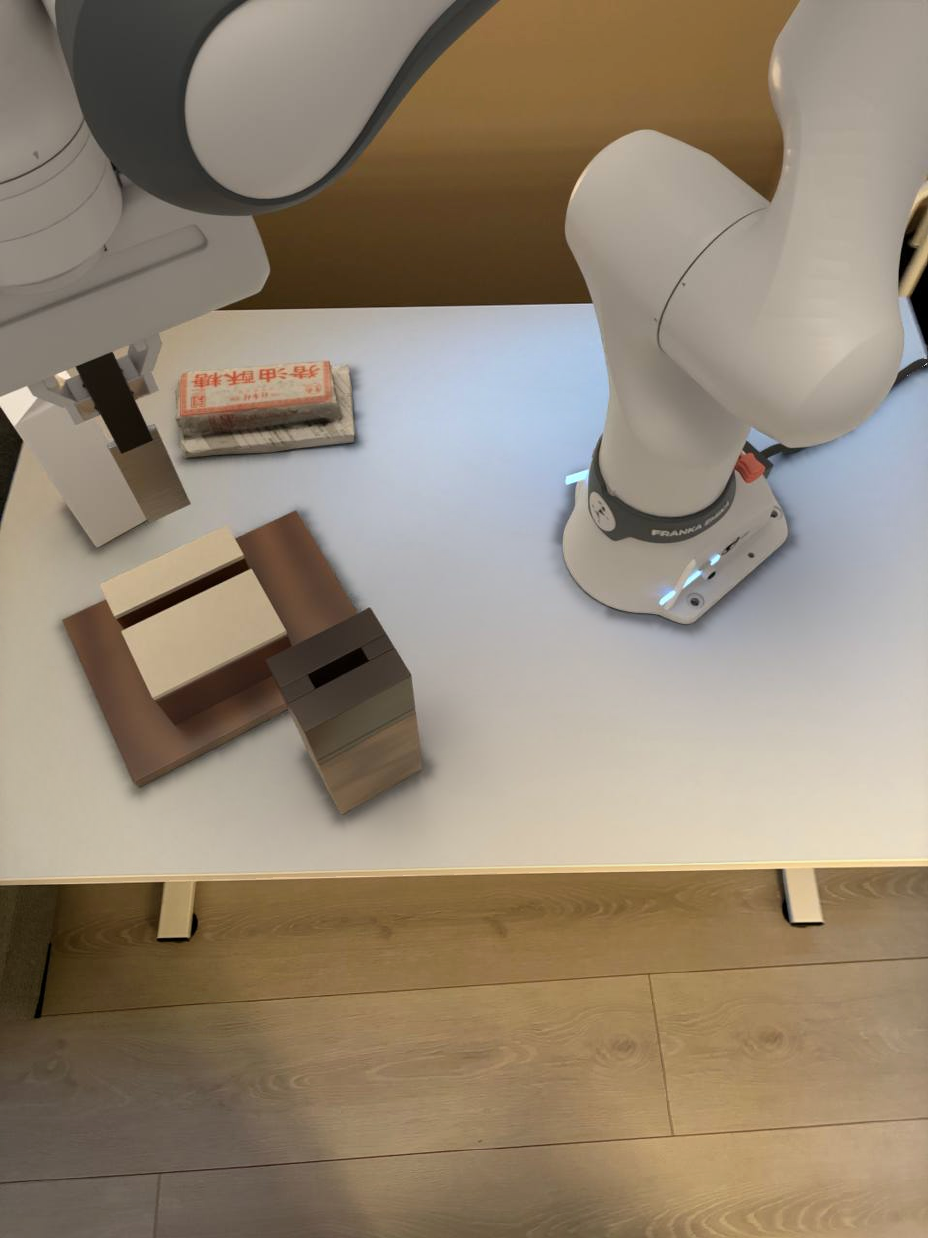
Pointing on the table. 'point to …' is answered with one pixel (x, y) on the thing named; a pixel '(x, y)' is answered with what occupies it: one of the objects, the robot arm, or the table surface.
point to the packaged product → (264, 408)
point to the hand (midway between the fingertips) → (113, 400)
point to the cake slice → (174, 577)
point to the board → (159, 746)
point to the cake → (207, 646)
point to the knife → (134, 440)
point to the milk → (76, 464)
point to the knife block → (352, 708)
